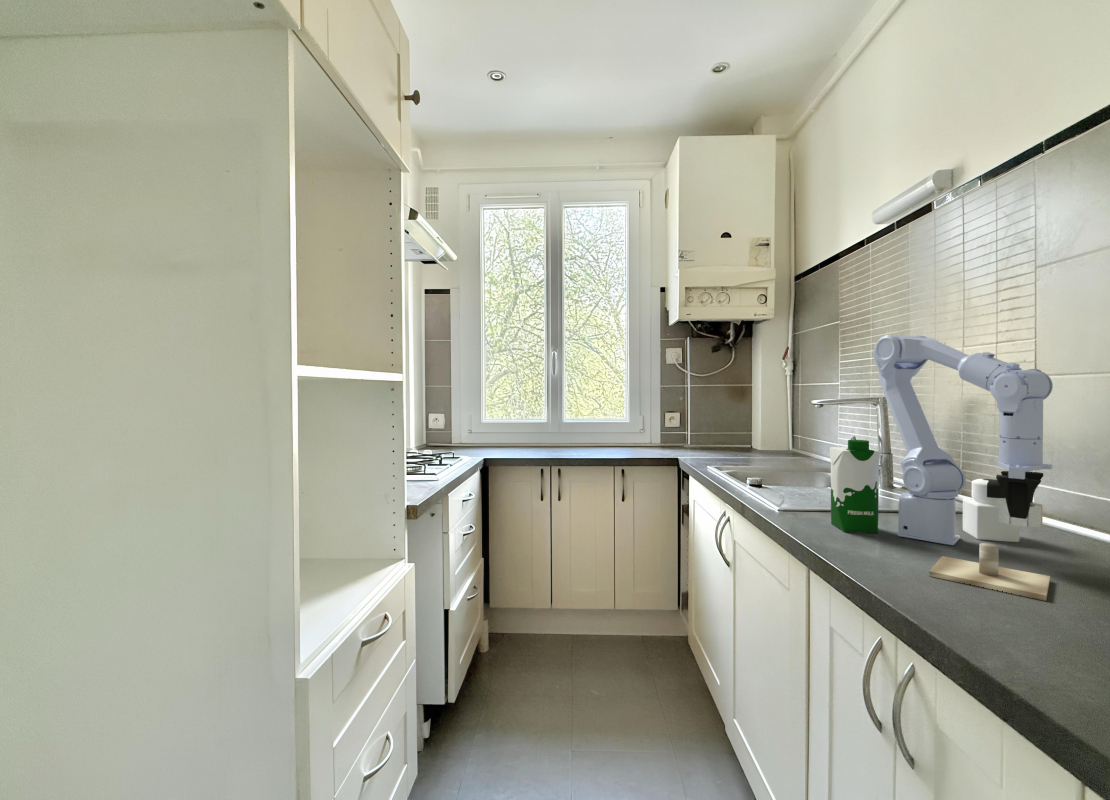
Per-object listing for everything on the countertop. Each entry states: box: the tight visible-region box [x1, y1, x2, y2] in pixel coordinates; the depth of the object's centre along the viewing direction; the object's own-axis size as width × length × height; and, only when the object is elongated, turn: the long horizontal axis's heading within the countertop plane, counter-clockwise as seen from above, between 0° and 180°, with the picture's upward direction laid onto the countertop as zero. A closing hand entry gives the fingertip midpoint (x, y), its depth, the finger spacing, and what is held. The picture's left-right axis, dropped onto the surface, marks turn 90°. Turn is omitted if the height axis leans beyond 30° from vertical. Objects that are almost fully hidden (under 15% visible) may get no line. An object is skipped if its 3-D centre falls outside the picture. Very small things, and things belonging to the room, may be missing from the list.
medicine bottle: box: [962, 478, 1021, 543], centre depth 106 cm, size 7×7×12 cm
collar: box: [998, 500, 1044, 528], centre depth 89 cm, size 6×6×4 cm
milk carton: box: [829, 439, 881, 534], centre depth 113 cm, size 9×9×20 cm
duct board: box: [928, 542, 1051, 602], centre depth 83 cm, size 14×11×6 cm
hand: (1019, 514), depth 89 cm, fingers closed on collar, 6 cm apart
